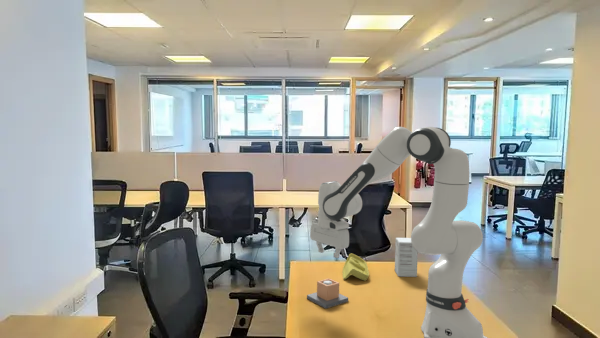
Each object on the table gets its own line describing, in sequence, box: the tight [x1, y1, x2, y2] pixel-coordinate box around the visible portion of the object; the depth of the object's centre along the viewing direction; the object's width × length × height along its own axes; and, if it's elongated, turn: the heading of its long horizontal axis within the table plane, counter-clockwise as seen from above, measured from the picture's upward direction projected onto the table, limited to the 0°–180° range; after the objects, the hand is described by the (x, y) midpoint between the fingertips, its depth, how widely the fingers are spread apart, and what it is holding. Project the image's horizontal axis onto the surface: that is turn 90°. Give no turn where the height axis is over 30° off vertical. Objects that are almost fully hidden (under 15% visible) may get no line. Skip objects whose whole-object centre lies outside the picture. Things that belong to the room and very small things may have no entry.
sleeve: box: [316, 278, 340, 301], centre depth 172 cm, size 6×6×6 cm
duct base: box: [306, 281, 349, 309], centre depth 172 cm, size 12×12×8 cm
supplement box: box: [394, 237, 419, 278], centre depth 205 cm, size 10×9×17 cm
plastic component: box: [342, 253, 370, 281], centre depth 204 cm, size 20×7×10 cm
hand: (328, 254), depth 171 cm, fingers open, 8 cm apart
